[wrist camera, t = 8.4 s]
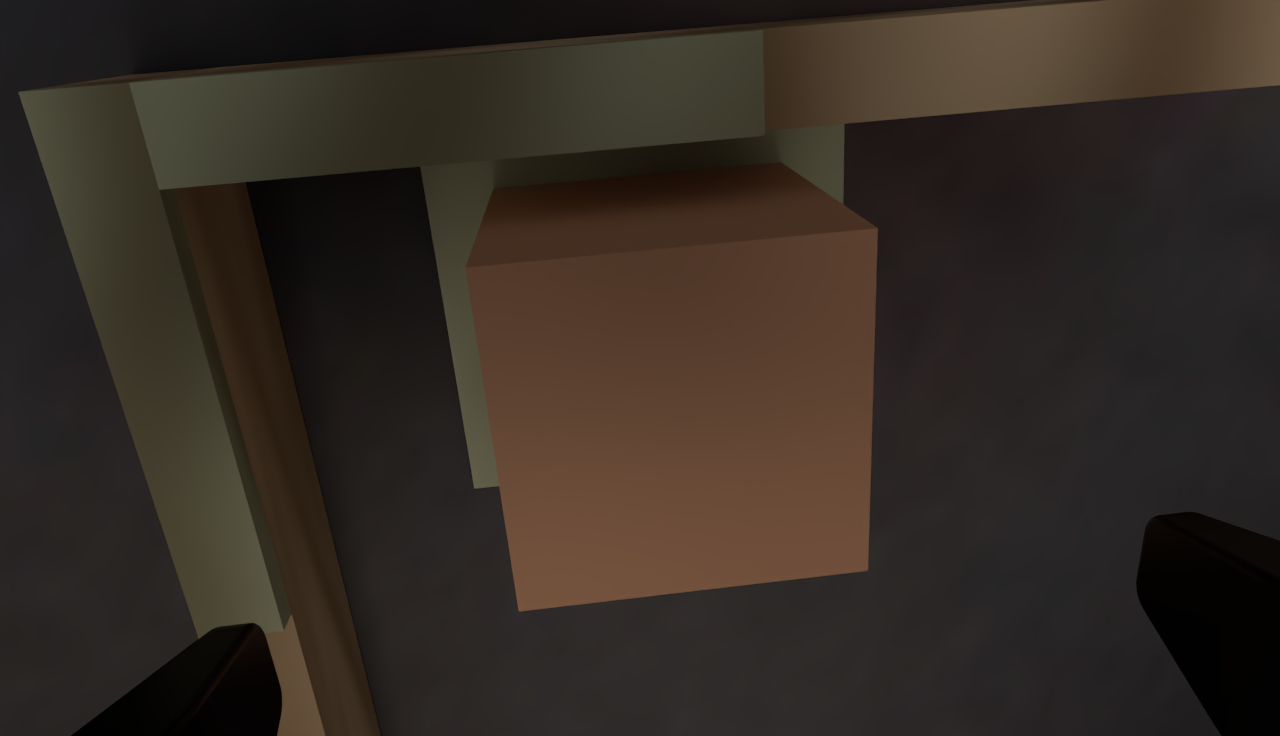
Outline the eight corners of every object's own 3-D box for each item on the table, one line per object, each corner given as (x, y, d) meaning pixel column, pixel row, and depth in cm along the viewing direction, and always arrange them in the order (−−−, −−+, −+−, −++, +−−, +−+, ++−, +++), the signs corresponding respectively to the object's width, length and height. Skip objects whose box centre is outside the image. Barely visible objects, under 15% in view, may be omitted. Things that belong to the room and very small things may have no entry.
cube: (781, 162, 17) (878, 228, 12) (784, 420, 19) (867, 570, 14) (493, 188, 17) (465, 267, 12) (529, 448, 19) (518, 611, 14)
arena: (1221, -16, 17) (1382, -22, 13) (1106, 692, 23) (1195, 803, 20) (130, 74, 15) (18, 91, 12) (331, 789, 22) (293, 923, 19)
